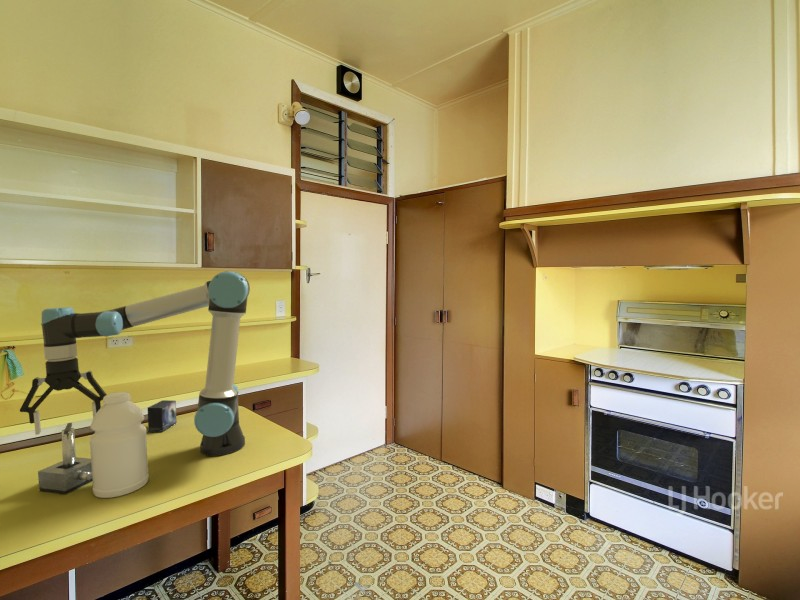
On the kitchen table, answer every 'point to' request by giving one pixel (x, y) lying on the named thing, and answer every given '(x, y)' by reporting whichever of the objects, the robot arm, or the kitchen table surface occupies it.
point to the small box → (161, 416)
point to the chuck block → (65, 477)
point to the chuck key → (68, 446)
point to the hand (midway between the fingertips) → (67, 428)
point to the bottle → (118, 447)
